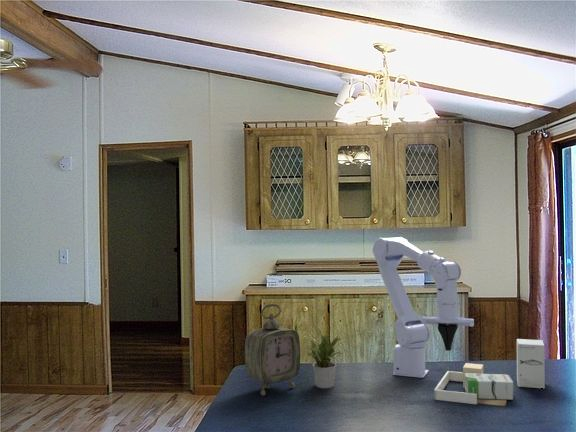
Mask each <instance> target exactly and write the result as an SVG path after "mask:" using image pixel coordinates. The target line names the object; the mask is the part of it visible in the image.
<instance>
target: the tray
mask: <svg viewBox="0 0 576 432" xmlns="http://www.w3.org/2000/svg"><path fill="white" fill-rule="evenodd" d="M449 381H452V382H462V383H463V371H462V372H461V371H452V370H451V371H450V370H447V371H446V372H445V374H444V375H443V376H442V378H441V380H439V382H438V384H437V385H436V386H435V388H434V390H433V396H434V397H433V400H436V401H444V402H453V403H463V404H470V405H478V403H477V394H473V393H466V392H463V391H461V392H460V391H455V390H453V391H452V390H444V389H445V387H446V386H447V384H449Z"/></svg>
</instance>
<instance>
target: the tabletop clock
mask: <svg viewBox="0 0 576 432" xmlns="http://www.w3.org/2000/svg"><path fill="white" fill-rule="evenodd" d="M270 307H277V308H278V313H277V314H275V315H274V314H273V313H270V314H269V316H265V315H264V311H265V310H266V309H267V308H270ZM281 311H282V308H281V307H280V305H278V304H276V303H269V304H266V305H265V306H264V307H263V308H262V309H261V316H262V317H263V319H267V320H265V321H264V322H263V326H262V327H261V328H258V329H255V330H252V331H251V332H249V333H248V334H246V337H245V342H244V362H245V365H244V366H245V370H246V373H247V375H248V377H249V378H251V379H254V380H258V381H259V382H261V387H262V388H261V390H260V396H262V397H264V396H266V394H267V393H266V390H265V389H270V388H271V384H276V383H280V382H284V381H287V382H288V383H289V385H288V386H289V387H290V388H291V389H294V388H295V387H296V385H295V382H292V381H291V379H292V378H295V377H296V376H297V375H298V374H299V371H300V366H301V342H300V336H299V333H298V331H296V330H294V329H289V328H285V327H281V325H280V322H279V321H278V320H276V318H278V317H279V316H280V314H281Z"/></svg>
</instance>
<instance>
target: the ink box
mask: <svg viewBox="0 0 576 432" xmlns="http://www.w3.org/2000/svg"><path fill="white" fill-rule="evenodd" d="M464 391H465V393H473V394H477V399H507V401H509V400H514V381H513V380H512V377H510V375H509V374H503V373H502V374H501V373H500V374H499V373H495V374H494V373H483V374H476V373H465V388H464Z"/></svg>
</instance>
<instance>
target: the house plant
mask: <svg viewBox="0 0 576 432" xmlns="http://www.w3.org/2000/svg"><path fill="white" fill-rule="evenodd" d="M319 333H320V337H321V339H320V340H321V342H320V343H319V344H318V347H317V345H316V344H315V342H314V341H313V340H312V339H311V338H310V337H308V335H304V337H305V338H307V340H306V342H307V343H310V345H311V352H308V353H307V352H306V357H307V356H309V357H310V356H311V358H313V359H314V361H315V362H314V363H312V370H313V375H314V377H313V378H314V382H315V386H316V388H319V389H331V388H333V387H334V385H335V378H336V369H337V364H336V363H335V362H333V361H332V360H333V358H334V356H335V355H337V357H338V356H339V355H344V351H342V352H340V351H338V352H336V350H335V349H336V348H337V347H338V346H339V345H340V344H342V342H340V343H338V342H339V341H341V340H342V339H348V336H344V337H340V336H342V335H343V333H340V334H339V335H337V336H336V337H334V338H333V340H331V341H329V335H328V331H326V330H325V333H324V332H323V333H322V332H321V331H319ZM337 343H338V344H337ZM336 344H337V345H336ZM335 345H336V346H335Z"/></svg>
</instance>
